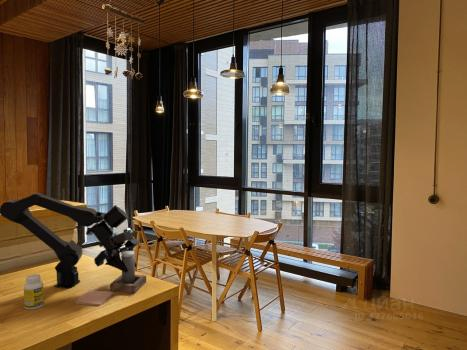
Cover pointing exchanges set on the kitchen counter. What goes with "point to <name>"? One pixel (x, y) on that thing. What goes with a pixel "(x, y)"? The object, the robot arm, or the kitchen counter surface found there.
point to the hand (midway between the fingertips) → (131, 269)
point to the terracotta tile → (94, 297)
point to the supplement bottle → (33, 292)
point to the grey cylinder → (128, 267)
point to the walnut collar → (130, 288)
